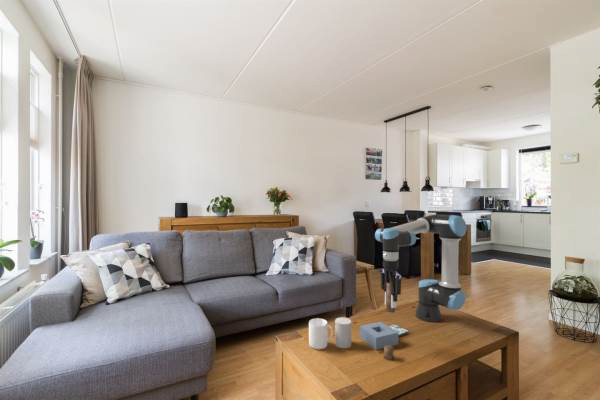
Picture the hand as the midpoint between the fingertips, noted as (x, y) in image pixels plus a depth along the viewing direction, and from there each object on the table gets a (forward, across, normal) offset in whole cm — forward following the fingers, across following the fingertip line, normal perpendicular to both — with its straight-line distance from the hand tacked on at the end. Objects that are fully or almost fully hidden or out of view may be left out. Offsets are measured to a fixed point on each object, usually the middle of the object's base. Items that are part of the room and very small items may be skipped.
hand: (390, 305), depth 144 cm
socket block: (+20, -7, -2) cm, 22 cm away
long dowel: (+3, 0, 0) cm, 3 cm away
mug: (+21, -16, -32) cm, 41 cm away
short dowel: (+20, +8, -8) cm, 23 cm away
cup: (+21, -12, -21) cm, 31 cm away
